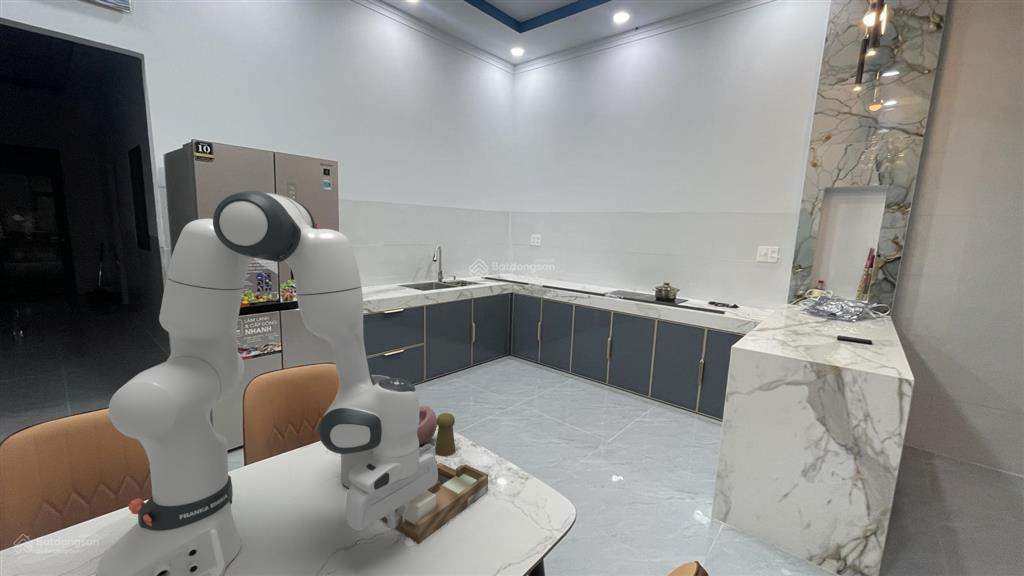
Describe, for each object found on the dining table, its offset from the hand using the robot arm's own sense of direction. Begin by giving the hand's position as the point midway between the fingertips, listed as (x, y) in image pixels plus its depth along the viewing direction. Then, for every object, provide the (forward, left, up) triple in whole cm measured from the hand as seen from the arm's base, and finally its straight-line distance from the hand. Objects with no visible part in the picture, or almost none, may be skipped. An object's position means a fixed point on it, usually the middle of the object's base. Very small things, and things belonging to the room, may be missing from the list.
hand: (396, 524), depth 83 cm
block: (+6, 0, -2) cm, 7 cm away
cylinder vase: (+10, +24, -4) cm, 26 cm away
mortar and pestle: (+30, +28, -4) cm, 41 cm away
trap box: (+14, +4, -4) cm, 15 cm away
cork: (+32, +18, -4) cm, 37 cm away
